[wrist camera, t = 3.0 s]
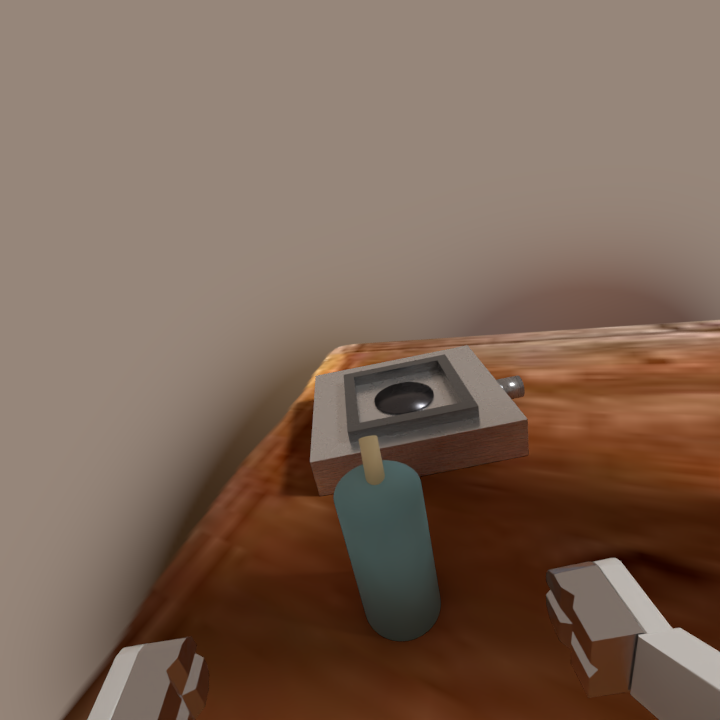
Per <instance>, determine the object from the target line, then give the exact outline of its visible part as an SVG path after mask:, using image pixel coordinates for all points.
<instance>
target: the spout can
mask: <svg viewBox="0 0 720 720" xmlns="http://www.w3.org/2000/svg"><path fill="white" fill-rule="evenodd" d="M359 445H360V450H361V456H362V461H363V464H362V465H360V466H358V467H356V468H354V469H352V470H351V471H349V472H348V473H347V474H345V475H344V476H343V477H342V478H341V480H340V481H339V482H338V484H337V486H336V488H335V491H334V503H335V507H336V511H337V514H338V518H339V521H340V525H341V528H342V532H343V535H344V539H345V543H346V546H347V550H348V553H349V557H350V560H351V564H352V567H353V571H354V575H355V578H356V582H357V585H358V589H359V592H360V596H361V600H362V603H363V607H364V610H365V614H366V617H367V620H368V622H369V624H370V625H371V627H372V628H373V629H374V630H375V631H376V632H377V633H378V634H380V635H381V636H383V637H385V638H387V639H390V640H394V641H409V640H413V639H416V638H418V637H420V636H422V635H424V634H425V633H426V632H427V631H429V630H430V629H431V628H432V626H433V625H434V624H435V622H436V620H437V618H438V616H439V613H440V607H441V599H440V593H439V587H438V581H437V575H436V569H435V563H434V557H433V551H432V545H431V539H430V533H429V527H428V521H427V515H426V509H425V503H424V497H423V491H422V485H421V480H420V478H419V476H418V474H417V473H416V472H415V470H413V469H412V468H411V467H409V466H408V465H406V464H403V463H400V462H397V461H390V460H382V458H381V453H380V448H379V443H378V438H377V436H376V435H372V436H366V437H362V438H360V439H359Z"/></svg>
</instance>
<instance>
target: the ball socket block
mask: <svg viewBox="0 0 720 720" xmlns="http://www.w3.org/2000/svg"><path fill="white" fill-rule="evenodd" d="M523 396H524V385H523V382H522V380H521V378H520V377H519V376H513V377H508V378H503V379H498V380H495V379H494V377H493V376H492V375H491V374H490V372H489V371H488V370H487V369H486V367H485V366H484V365H483V364H482V363H481V361H480V360H479V359H478V358H477V356H476V355H475V354H474V353H473V351H472V350H471V349H470V348H469V347H468V345H467V346H462V347H457V348H452V349H447V350H442V351H437V352H432V353H428V354H423V355H418V356H413V357H408V358H403V359H398V360H393V361H388V362H383V363H378V364H373V365H368V366H363V367H358V368H353V369H348V370H343V371H338V372H333V373H328V374H323V375H318V376H316V381H315V395H314V410H313V424H312V438H311V453H310V465H311V468H312V471H313V475H314V478H315V482H316V485H317V488H318V492H319V495H320V496H323V495H328V494H333V493H334V491H335V488H336V486H337V484H338V482H339V481H340V480H341V478H342V477H343V476H344V475H345V474H347V473H348V472H349V471H351V470H352V469H354V468H356V467H358V466H360V465H362V464H363V461H362V456H361V450H360V445H359V439H360V438H362V437H366V436H372V435H376V436H377V438H378V443H379V448H380V453H381V458H382V460H390V461H397V462H400V463H403V464H406V465H408V466H409V467H411V468H412V469H413V470H415V472H416V473H417V474H418V476H419V477H420V476H425V475H430V474H435V473H440V472H445V471H450V470H455V469H460V468H465V467H470V466H475V465H481V464H486V463H491V462H496V461H501V460H506V459H511V458H516V457H521V456H526V455H529V449H528V419H527V418H526V417H525V415H524V414H523V413H522V412H521V411H520V409H519V408H518V407H517V406H516V404H515V403H514V402H513V401H512V399H514V398H519V397H523Z"/></svg>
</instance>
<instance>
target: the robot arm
mask: <svg viewBox="0 0 720 720" xmlns="http://www.w3.org/2000/svg"><path fill="white" fill-rule="evenodd" d="M546 582H547V584H548V586H549V588H550V591H549V592H548V593H547V594H546V604H547V609H548V613H549V617H550V620H551V623H552V625H553V628H554V630H555V632H556V634H557V636H558V638H559V641H560V642H561V643H563V644H564V645H565V646H567V647H568V648H569V649H571V665H572V667H573V669H574V671H575V673H576V675H577V677H578V679H579V681H580V683H581V685H582V687H583V689H584V690H585V692H586V694H587V696H588V698H590V697H597V696H604V695H611V694H618V693H624V692H630V694H631V695H632V696H633V697H634V698H635V699H636V700H637V701H638V702H640V703H641V704H642V705H643V706H644V707H645V708H646V709H648V710H649V711H650V712H651V713H652V714H653V715H654V716H656V717H657V718H658V719H659V720H720V652H719V651H718V650H716V649H714V648H713V647H711V646H709V645H708V644H706V643H704V642H703V641H701V640H699V639H698V638H696V637H695V636H693V635H691V634H690V633H688V632H686V631H685V630H683V629H681V628H673V629H672V627H671V626H670V625H669V623H668V622H667V621H666V619H665V618H664V617H663V616H662V614H661V613H660V612H659V610H658V609H657V608H656V606H655V605H654V604H653V603H652V601H651V600H650V599H649V597H648V596H647V595H646V593H645V592H644V591H643V590H642V588H641V587H640V586H639V584H638V583H637V582H636V580H635V579H634V578H633V577H632V575H631V574H630V573H629V571H628V570H627V569H626V567H625V566H624V565H623V564H622V562H621V561H619V560H618V559H617V558H608V559H603V560H599V561H594V562H590V561H589V562H584V563H579V564H574V565H570V566H565V567H560V568H555V569H550V570H548V571H547V573H546ZM196 648H197V644H196V642H195V641H194V639H193V637H192V636H191V637H185V638H179V639H173V640H167V641H161V642H155V643H149V644H142V645H136V646H131V647H125V648H123V649H122V650H121V651H120V652H119V653H118V655H117V656H116V657H115V659H114V662H113V664H112V666H111V668H110V670H109V673H108V675H107V677H106V679H105V681H104V684H103V686H102V688H101V690H100V692H99V695H98V697H97V699H96V701H95V703H94V706H93V708H92V710H91V712H90V715H89V717H88V719H87V720H195V719H196V718H197V716H198V715H199V714H200V712H201V711H202V710H203V708H204V707H205V705H206V700H207V696H208V691H209V670H208V665H207V663H206V661H205V659H204V657H202V656H200V655H198V654H196V653H195V652H196Z"/></svg>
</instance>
